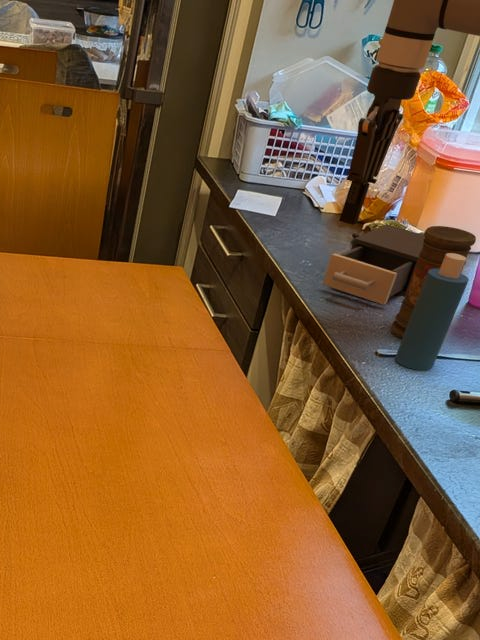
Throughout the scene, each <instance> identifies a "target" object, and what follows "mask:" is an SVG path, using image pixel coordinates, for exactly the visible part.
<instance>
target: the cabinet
mask: <svg viewBox="0 0 480 640" xmlns="http://www.w3.org/2000/svg"><path fill="white" fill-rule="evenodd" d="M424 239H425V236H424V233H423V234H422V233H419V232H415V231H412V230H408V229H405V228H402V227H398V226H394V225H391V224H384V225H382V226H379V227H377V228H375V229H372V230H370V231H368V232H366V233H364V234H361V235H359V236H357V237H354V238H353V241H352V244H351V248H350V250H352V249H354V248H356V247H359V246H361V245H362V246H366V247H369V248H372V249H375V250H379V251H382V252H385V253H389V254H392V255H395V256H398V257H402V258H405V259H408V260H412V261H415V262H416V263H417V261H418V258H419V253H420V252H421V250H422V248H423V240H424ZM416 263H415V266H416ZM415 266H414V269H415ZM414 269H413V271H412V274H411V277H410V279H409V282H408V285H407V287H406V288H405V289H403V290H401V291H399V292H398V293H396V294H395V295H398V296H402V297H404V298H405V295H406V292H407V290H408V287H409V284H410V281H411V278H412V275H413V272H414Z"/></svg>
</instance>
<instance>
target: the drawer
mask: <svg viewBox="0 0 480 640" xmlns="http://www.w3.org/2000/svg"><path fill="white" fill-rule="evenodd" d="M415 263H416V262H415V261H412V260H408V259H405V258H402V257H398V256H395V255H392V254H389V253H385V252H382V251H379V250H375V249H372V248H369V247H366V246H362V245H361V246H359V247H356V248H354V249H352V250H351V249H350V250H348V251H347V250H346V251H345V252H342V253H341V254H338V253H334V252H333V253H332V254H331V257H330V259H329V262H328V266H327V269H326V272H325V275H324V278H323V281H322V285H323V286H326V287H328V288H332V289H335V290H338V291H340V292H344V293H347V294H350V295H353V296H356V297H359V298H363V299H365V300H368V301H370V302H373V303H377V304H380V305H383V306H384V305H386V304H387V303H388V300H389V298H390V297H393V296H394V295H397V294H396V293H398V292H399V291H401V290H403V289H405V288H406V287H407V285H408V282H409V279H410V277H411V274H412V271H413V269H414V266H415Z"/></svg>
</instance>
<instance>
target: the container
mask: <svg viewBox="0 0 480 640" xmlns="http://www.w3.org/2000/svg"><path fill="white" fill-rule="evenodd" d="M423 235H424V236H425V239H424V240H423V248H422V250H421V252H420V253H419V258H418V261H417V263H416V266H415V269H414V272H413V275H412V278H411V281H410V284H409V287H408V290H407V292H406V295H405V297H404V298H403V299H402V300H401V305H400V308H399V311H398V312H397V314H396V315H394V320H393V322H392V323H391V325H390V332H391V334H392V335H394V336H395V337H397V338H399V339H401V340H402V338H403V336H404V333H405V330H406V328H407V325H408V323H409V320H410V317H411V315H412V312H413V310H414V307H415V304H416V302H417V299H418V297H419V294H420V291H421V289H422V286H423V284H424V281H425V278H426V276H427V273H428V271H429V270H430V269H436V268H438V269H440V268H441V265H442V263H443V260H444V258H445V255H446V254H447V253H454V254H459V255H462V256H464V257H466V259H467V257H468V254H469V253H470V252H471V250H472V246H474V245H475V243H476V241H477V237H476V235H475V234H473V233H472V232H469V231H468V230H464V229H461V228H457V227H453V226H452V227H451V226H445V225H432V226H429V227H427V228H426V229H425V230H424V233H423ZM466 264H467V260H466V261H465V263H464V266H463V268H462V271H461V273H462V272H463V270H464V267H465V266H466Z"/></svg>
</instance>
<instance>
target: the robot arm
mask: <svg viewBox="0 0 480 640" xmlns="http://www.w3.org/2000/svg"><path fill="white" fill-rule="evenodd" d="M437 29H441V30H449V31H454V32H458V33H462V34H467V35H471V36H475V37H476V36H477V37H480V0H393V2H392V6H391V9H390V12H389V16H388V20H387V23H386V26H385V29H384V32H383V34H382V35H383V36H382V37H380V39H379V40H378V45H379V49H378V51H377V55H376V58H375V60H376V63H378V64H376V65H374V66H373V67H372V70H371V73H370V76H369V80H368V83H367V86H366V90H367V92H368V93H369V94H371V95H373V97H374V98H373V100H372V102H371V104H370V107H369V108H368V110H367V113H366V115H365V117H360V118H359V120H358V123H357V124H358V126H357V135H356V139H355V144H354V148H353V153H352V157H351V161H350V166H349V170H348V173H347V176H346V181H349V182H350V185H349V189H348V192H347V195H346V198H345V202H344V204H343V207H342V210H341V215H340V217H339V220H338V221H339V222H343V223H346V224H349V225H352V226H354V225H357V224H358V221H359V219H360V215H361V213H362V209H363V207H364V204H365V201H366V197H367V194H368V191H369V188H370V185H371V184H377V181H378V178H377V177H378V176H379V174H380V172H381V169H382V166H383V163H384V161H385V159H386V156H387V154H388V152H389V149H390V147H391V144H392V142H393V139H394V136H395V134H396V132H397V129H398V128H399V126H400V124H401V122H402V121H403V118H404V114H403V113H400V112H401V111H400V109H401V107H402V101H408V100H411V99H413V98H414V96H415V94H416V91H417V89H418V86H419V83H420V80H421V77H422V75H421V72H420V70H422V69H424V68H425V66H426V63H427V60H428V57H429V54H430V51H431V48H432V45H433V42H434V40H435V35H436V32H437ZM376 178H377V179H376Z"/></svg>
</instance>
